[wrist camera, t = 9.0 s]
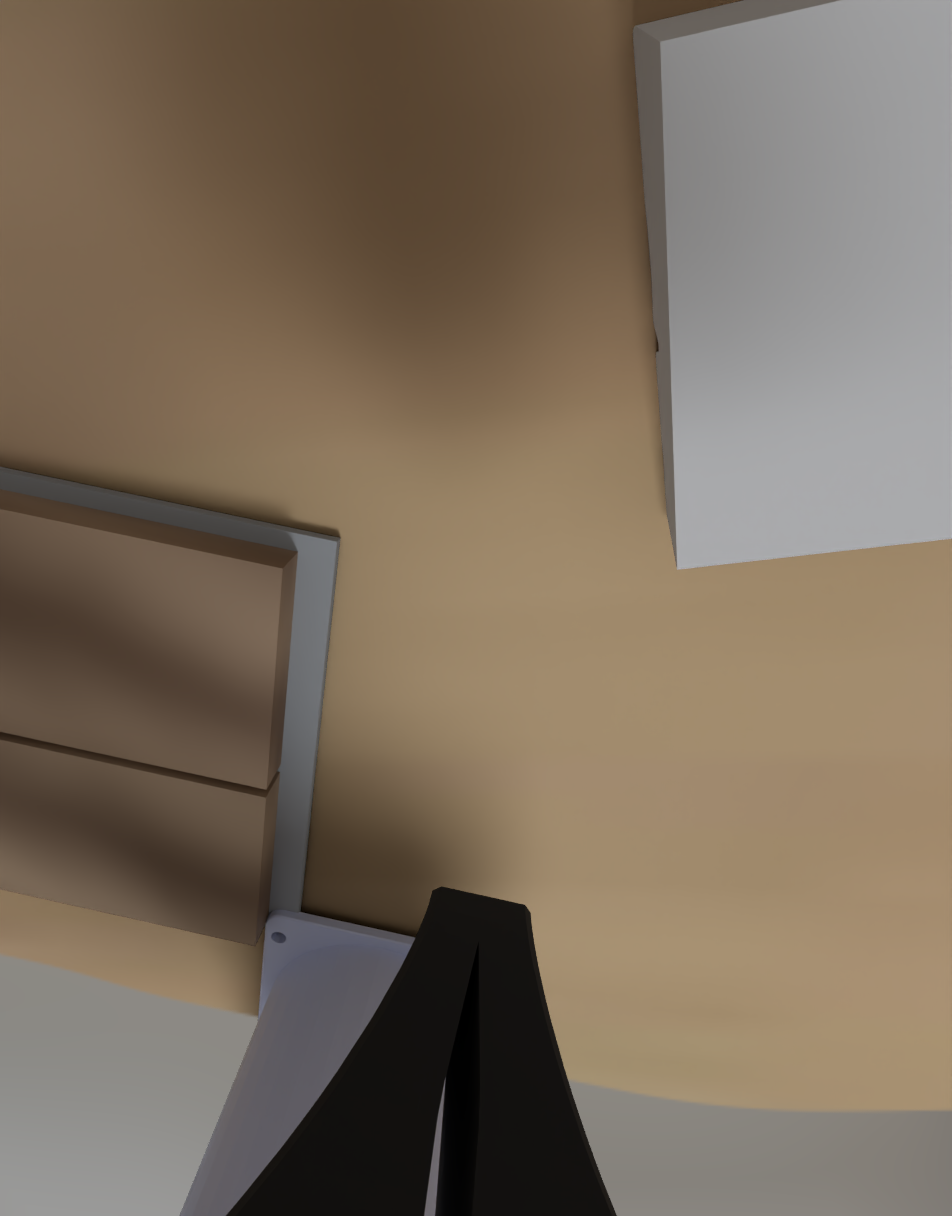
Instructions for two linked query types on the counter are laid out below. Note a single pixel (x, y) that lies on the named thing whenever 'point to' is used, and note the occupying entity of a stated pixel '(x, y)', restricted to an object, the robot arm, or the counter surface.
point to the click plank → (144, 639)
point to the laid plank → (136, 839)
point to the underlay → (305, 647)
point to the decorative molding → (801, 273)
